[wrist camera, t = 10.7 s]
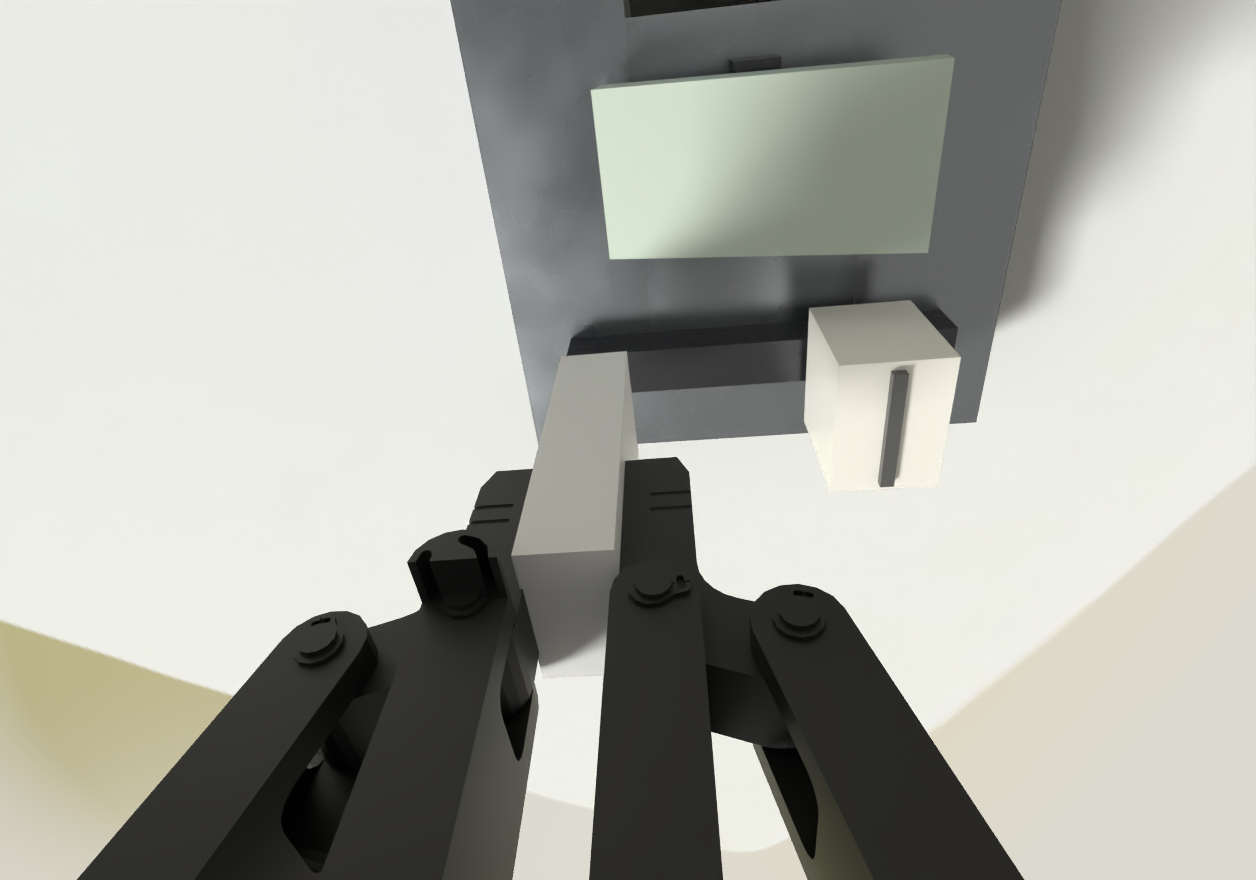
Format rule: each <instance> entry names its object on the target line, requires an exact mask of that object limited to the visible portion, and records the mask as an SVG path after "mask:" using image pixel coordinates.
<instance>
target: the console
mask: <svg viewBox="0 0 1256 880" xmlns="http://www.w3.org/2000/svg"><path fill="white" fill-rule="evenodd" d="M450 1H451V6H452V11H453V16H454V21H455V27H456V32H457V37H458V42H459V47H460V52H461V57H462V62H463V67H464V72H465V77H466V82H467V87H468V92H469V97H470V102H471V107H472V112H473V117H474V122H475V127H476V132H477V137H478V142H479V147H480V153H481V158H482V163H483V168H484V173H485V178H486V183H487V188H488V193H489V198H490V203H491V208H492V213H493V218H494V223H495V228H496V233H497V238H498V243H499V248H500V253H501V258H502V263H503V268H504V273H505V279H506V284H507V289H508V294H509V299H510V304H511V309H512V314H513V319H514V324H515V329H516V334H517V339H518V344H519V349H520V354H521V359H522V364H523V369H524V374H525V379H526V384H527V389H528V394H529V400H530V405H531V410H532V415H533V420H534V425H535V430H536V435H537V440H538V445H539V442H540V438H541V434H542V430H543V426H544V422H545V418H546V414H547V410H548V406H549V402H550V398H551V394H552V390H553V386H554V382H555V378H556V374H557V370H558V366H559V362H560V358H561V357H562V356H574V355H586V354H598V353H610V352H622V351H627V357H628V366H629V375H630V384H631V392H632V401H633V410H634V419H635V427H636V436H637V444H640V443H656V442H672V441H687V440H703V439H719V438H735V437H751V436H766V435H782V434H798V433H808V431H807V428H806V425H805V422H804V409H805V387H806V366H807V344H808V322H809V308H816V307H829V306H841V305H854V304H867V303H880V302H893V301H905V300H911V301H912V302H913V303H914V305H915V306H916V307H917V308H918V309H919V310H920V311H921V313H922V314H923V315H924V316H925V317H926V318H927V319H928V320H929V322H930V323H931V324H932V325H933V326H934V327H935V328H936V329H937V331H938V332H939V333H940V334H941V335H942V336H943V337H944V338H945V340H946V341H947V342H948V343H949V344H950V345H951V346H952V347H953V349H954V350H955V351H956V352H957V353H958V354H959V355H960V356H961V360H960V366H959V372H958V377H957V383H956V388H955V394H954V400H953V405H952V411H951V416H950V422H949V424H956V423H971V422H976V420H977V415H978V410H979V405H980V400H981V395H982V390H983V386H984V381H985V376H986V371H987V366H988V361H989V356H990V351H991V346H992V341H993V336H994V331H995V326H996V321H997V316H998V311H999V306H1000V302H1001V297H1002V292H1003V287H1004V282H1005V277H1006V272H1007V267H1008V262H1009V257H1010V252H1011V247H1012V242H1013V237H1014V232H1015V227H1016V223H1017V218H1018V213H1019V208H1020V203H1021V198H1022V193H1023V188H1024V183H1025V178H1026V173H1027V168H1028V163H1029V158H1030V153H1031V148H1032V144H1033V139H1034V134H1035V129H1036V124H1037V119H1038V114H1039V109H1040V104H1041V99H1042V94H1043V89H1044V84H1045V79H1046V74H1047V69H1048V65H1049V60H1050V55H1051V50H1052V45H1053V40H1054V35H1055V30H1056V25H1057V20H1058V15H1059V10H1060V5H1061V0H777V1H768V2H759V3H751V4H742V5H733V6H724V7H716V8H707V9H698V10H690V11H681V12H672V13H664V14H655V15H646V16H637V17H631V15H630V3H629V0H450ZM943 54H948V55H950V56H952V57H954V58H955V60H954V68H953V75H952V82H951V89H950V97H949V104H948V111H947V118H946V126H945V133H944V140H943V148H942V155H941V162H940V169H939V177H938V184H937V191H936V198H935V206H934V213H933V220H932V227H931V235H930V242H929V249H928V253H897V254H848V255H799V256H750V257H701V258H653V259H610V257H609V248H608V239H607V230H606V221H605V212H604V203H603V195H602V186H601V177H600V168H599V159H598V150H597V141H596V133H595V124H594V115H593V106H592V97H591V90H592V89H594V88H597V87H599V86H602V85H607V84H618V83H629V82H641V81H652V80H663V79H674V78H685V77H697V76H708V75H719V74H730V73H741V72H753V71H764V70H775V69H786V68H797V67H809V66H820V65H831V64H842V63H853V62H865V61H876V60H887V59H898V58H909V57H920V56H932V55H943Z"/></svg>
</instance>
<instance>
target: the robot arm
mask: <svg viewBox="0 0 1256 880" xmlns="http://www.w3.org/2000/svg"><path fill="white" fill-rule="evenodd" d="M474 507H475V510H473V512H472V515H471V518H470V521H469V522H470V524H469V525H468V526H467V529H466V530H458V531H453V532H447V533H444V534H442V535H439V536H437V537H435V538H433V539H430V540H428V541H427V542H426V543H424V544H423V545H422V546H421V547H419V548H418V549H417V550H415V552H414V553H413V555H412V556H411V558H410V559H409V560H408V562H407V563H408V566H409V569H410V571H411V574H412V577H413V579H414V582H415V585H416V587H417V590H418V593H419V595H420V598H421V601H422V605H421V608H420V610H418V611H417V612H415V613H413V614H410V615H408V616H405V617H403V618H400V619H396V620H393V621H390V622H387V623H383V624H380V625H377V626H373V627H370V628H368V627H367V625H366V624H365V622H364V621H363V620H362V618H361V617H360V616H359V615H356V614H353V613H351V612H348V611H336V612H328V613H325V614H322V615H318V616H315V617H313V618H311V619H309V620H307V621H305V622H304V623H302V624H300V625H298V626H297V627H296V628H294V629H293V630H292V631H291V632H290V633H289V634H288V635H287V636H286V637H284V638H283V639H282V641H281V642H280V643H279V644H278V645H277V646H276V648H275V649H274V650H273V651H272V652H271V653H270V655H269V656H268V657H267V658H266V659H265V660H264V662H263V663H262V664H261V665H260V666H259V667H258V669H257V670H256V671H255V672H254V673H253V674H252V676H251V677H250V678H249V679H248V680H247V681H246V683H245V684H244V685H243V686H242V687H241V688H240V690H239V691H238V692H237V693H236V694H235V695H234V697H233V698H232V699H231V700H230V701H229V702H228V704H227V705H226V706H225V707H224V709H222V711H221V712H220V713H219V714H218V715H217V717H216V718H215V719H214V720H213V721H212V722H211V724H210V725H209V726H208V727H207V728H206V729H205V731H204V732H203V733H202V734H201V735H200V736H199V738H198V739H197V740H196V741H195V742H194V743H193V745H192V746H191V747H190V748H189V749H188V750H187V752H186V753H185V754H184V755H183V756H182V757H181V759H180V760H179V761H178V762H177V763H176V764H175V766H174V767H173V768H172V769H171V770H170V772H169V773H168V774H167V775H166V776H165V777H164V778H163V780H162V781H161V782H160V783H159V784H158V785H157V787H156V788H155V789H154V790H153V791H152V792H151V794H150V795H149V796H148V797H147V798H146V799H145V801H144V802H143V803H142V804H141V805H140V807H139V808H138V809H137V810H136V811H135V812H134V814H133V815H132V816H131V817H130V818H129V819H128V821H127V822H126V823H125V824H124V825H123V827H122V828H121V829H120V830H119V831H118V832H117V833H116V835H115V836H114V837H113V838H112V839H111V840H110V842H109V843H108V844H107V845H106V846H105V847H104V849H103V850H102V851H101V852H100V853H99V855H98V856H97V857H96V858H95V859H94V860H93V861H92V863H91V864H90V865H89V866H88V867H87V868H86V870H85V871H84V872H83V873H82V874H81V875H80V877H79V878H78V879H77V880H512V877H513V871H514V864H515V858H516V852H517V845H518V839H519V832H520V825H521V819H522V812H523V806H524V799H525V793H526V787H527V780H528V774H529V767H530V761H531V754H532V748H533V741H534V735H535V728H536V722H537V715H538V709H539V707H538V695H537V691H536V687H535V684H534V680H535V674H536V668H537V662H538V660H539V664H540V668H541V672H542V675H543V678H554V677H576V676H598V675H604V679H603V693H602V707H601V721H600V735H599V749H598V763H597V777H596V791H595V805H594V819H593V833H592V847H591V861H590V876H589V880H723V873H722V862H721V849H720V837H719V824H718V812H717V800H716V787H715V775H714V763H713V750H712V738H711V732H714V733H718V734H721V735H725V736H729V737H732V738H736V739H739V740H743V741H746V742H750V743H753V747H754V749H755V752H756V754H757V757H758V759H759V761H760V764H761V766H762V769H763V771H764V774H765V776H766V779H767V781H768V783H769V786H770V788H771V791H772V793H773V796H774V798H775V801H776V803H777V806H778V808H779V810H780V813H781V815H782V818H783V820H784V823H785V825H786V828H787V830H788V832H789V835H790V837H791V840H792V842H793V845H794V847H795V850H796V852H797V854H798V857H799V859H800V862H801V864H802V866H803V869H804V872H805V874H806V876H807V879H808V880H1024V879H1023V877H1022V876H1021V874H1020V873H1019V871H1018V869H1017V868H1016V866H1015V865H1014V863H1013V862H1012V860H1011V859H1010V857H1009V856H1008V854H1007V853H1006V852H1005V850H1004V848H1003V847H1002V845H1001V844H1000V842H999V841H998V839H997V838H996V836H995V835H994V833H993V832H992V830H991V829H990V827H989V826H988V824H987V823H986V821H985V820H984V818H983V817H982V815H981V814H980V812H979V811H978V809H977V807H976V806H975V804H974V803H973V801H972V800H971V798H970V797H969V795H968V794H967V792H966V791H965V789H964V788H963V786H962V785H961V783H960V782H959V780H958V779H957V777H956V776H955V774H954V773H953V771H952V770H951V768H950V767H949V765H948V764H947V762H946V761H945V759H944V758H943V756H942V755H941V753H940V752H939V750H938V749H937V747H936V746H935V744H934V742H933V741H932V739H931V738H930V736H929V735H928V733H927V732H926V730H925V729H924V727H923V726H922V724H921V723H920V721H919V720H918V718H917V717H916V715H915V714H914V712H913V711H912V709H911V708H910V706H909V705H908V703H907V702H906V700H905V699H904V697H903V696H902V694H901V693H900V691H899V690H898V688H897V687H896V685H895V684H894V682H893V681H892V679H891V678H890V676H889V674H888V673H887V671H886V670H885V668H884V667H883V665H882V664H881V662H880V661H879V659H878V658H877V656H876V655H875V653H874V652H873V650H872V649H871V647H870V646H869V644H868V643H867V641H866V640H865V638H864V637H863V635H862V634H861V632H860V631H859V629H858V628H857V626H856V625H855V623H854V622H853V620H852V619H851V617H850V616H849V614H848V613H847V611H846V609H845V608H844V607H843V606H842V605H841V604H840V603H839V602H838V601H837V600H836V599H835V598H834V597H833V596H832V595H830V594H828V593H826V592H824V591H822V590H820V589H818V588H816V587H811V586H806V585H800V584H792V585H780V586H778V587H775V588H773V589H770V590H768V591H766V592H764V593H763V594H762V595H761V596H760V597H759V598H758V599H757V600H756V601H755V602H754V601H749V600H744V599H740V598H736V597H732V596H729V595H726V594H723V593H722V592H720V591H718V590H716V589H714V588H713V587H712V586H710V585H709V584H708V583H707V582H706V581H705V580H704V579H703V577H702V576H701V574H700V572H699V570H698V566H697V561H696V549H695V537H694V525H693V513H692V501H691V489H690V477H689V471H688V470H687V469H686V468H685V467H684V465H683V464H682V463H681V462H680V460H679V459H678V458H677V457H671V458H657V459H642V460H638V445H637V436H636V427H635V419H634V410H633V401H632V392H631V384H630V375H629V366H628V357H627V351H622V352H610V353H598V354H586V355H574V356H562V357H561V358H560V362H559V366H558V370H557V374H556V378H555V382H554V386H553V390H552V394H551V398H550V402H549V406H548V410H547V414H546V418H545V422H544V426H543V430H542V434H541V438H540V442H539V446H538V450H537V454H536V458H535V462H534V466H533V469H525V470H510V471H497V472H496V473H495V474H494V475H493V476H492V477H491V478H490V479H489V480H488V481H487V482H486V483H485V484H484V485H483V486H482V487H481V489H480V492H479V495H478V498H477V500H476V503H475V506H474Z"/></svg>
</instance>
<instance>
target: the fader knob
mask: <svg viewBox="0 0 1256 880" xmlns="http://www.w3.org/2000/svg"><path fill="white" fill-rule="evenodd" d="M960 360H961V356H960V355H959V354H958V353H957V352H956V351H955V350H954V349H953V347H952V346H951V345H950V344H949V343H948V342H947V341H946V340H945V338H944V337H943V336H942V335H941V334H940V333H939V332H938V331H937V329H936V328H935V327H934V326H933V325H932V324H931V323H930V322H929V320H928V319H927V318H926V317H925V316H924V315H923V314H922V313H921V311H920V310H919V309H918V308H917V307H916V306H915V305H914V303H913V302H912V301H911V300H905V301H893V302H880V303H867V304H854V305H841V306H829V307H816V308H809V322H808V344H807V366H806V387H805V409H804V422H805V425H806V428H807V431H808V433H809V436H810V439H811V442H812V444H813V447H814V450H815V453H816V455H817V458H818V461H819V464H820V466H821V469H822V472H823V475H824V478H825V480H826V483H827V486H828V489H829V491H830V492H839V491H857V490H875V489H893V488H910V487H928V486H938V484H939V478H940V473H941V467H942V461H943V456H944V450H945V445H946V439H947V433H948V428H949V422H950V416H951V411H952V405H953V400H954V394H955V388H956V383H957V377H958V372H959V366H960Z"/></svg>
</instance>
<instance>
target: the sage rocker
mask: <svg viewBox="0 0 1256 880" xmlns="http://www.w3.org/2000/svg"><path fill="white" fill-rule="evenodd" d="M954 60H955V58H954V57H952V56H950V55H948V54H943V55H932V56H920V57H909V58H898V59H887V60H876V61H865V62H853V63H842V64H831V65H820V66H809V67H797V68H786V69H775V70H764V71H753V72H741V73H730V74H719V75H708V76H697V77H685V78H674V79H663V80H652V81H641V82H629V83H618V84H607V85H602V86H599V87H597V88H594V89H592V90H591V97H592V106H593V115H594V124H595V133H596V141H597V150H598V159H599V168H600V177H601V186H602V195H603V203H604V212H605V221H606V230H607V239H608V248H609V257H610V259H653V258H701V257H750V256H799V255H848V254H897V253H928V249H929V242H930V235H931V227H932V220H933V213H934V206H935V198H936V191H937V184H938V177H939V169H940V162H941V155H942V148H943V140H944V133H945V126H946V118H947V111H948V104H949V97H950V89H951V82H952V75H953V68H954Z"/></svg>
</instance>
